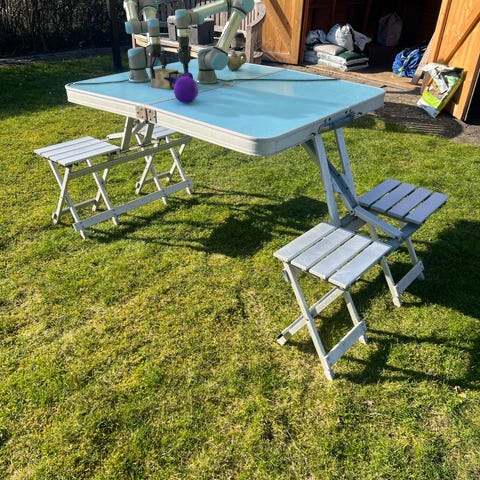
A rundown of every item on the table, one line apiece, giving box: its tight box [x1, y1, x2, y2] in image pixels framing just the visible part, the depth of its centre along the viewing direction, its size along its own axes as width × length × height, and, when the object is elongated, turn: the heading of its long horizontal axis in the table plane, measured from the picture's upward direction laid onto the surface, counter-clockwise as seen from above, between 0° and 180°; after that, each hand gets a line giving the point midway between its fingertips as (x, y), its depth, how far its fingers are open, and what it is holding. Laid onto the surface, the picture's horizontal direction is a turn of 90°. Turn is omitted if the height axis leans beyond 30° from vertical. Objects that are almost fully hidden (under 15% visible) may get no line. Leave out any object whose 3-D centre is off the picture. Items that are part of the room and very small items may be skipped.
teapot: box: [226, 50, 247, 72], centre depth 367 cm, size 21×12×15 cm, turn 120°
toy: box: [164, 72, 199, 104], centre depth 277 cm, size 16×18×27 cm
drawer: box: [169, 71, 184, 87], centre depth 311 cm, size 22×9×9 cm, turn 56°
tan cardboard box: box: [149, 67, 180, 90], centre depth 317 cm, size 18×10×11 cm, turn 56°
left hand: (158, 77), depth 320 cm, fingers closed on tan cardboard box, 10 cm apart
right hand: (186, 73), depth 305 cm, fingers closed
